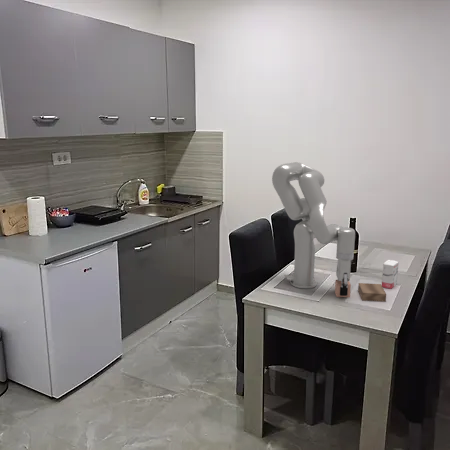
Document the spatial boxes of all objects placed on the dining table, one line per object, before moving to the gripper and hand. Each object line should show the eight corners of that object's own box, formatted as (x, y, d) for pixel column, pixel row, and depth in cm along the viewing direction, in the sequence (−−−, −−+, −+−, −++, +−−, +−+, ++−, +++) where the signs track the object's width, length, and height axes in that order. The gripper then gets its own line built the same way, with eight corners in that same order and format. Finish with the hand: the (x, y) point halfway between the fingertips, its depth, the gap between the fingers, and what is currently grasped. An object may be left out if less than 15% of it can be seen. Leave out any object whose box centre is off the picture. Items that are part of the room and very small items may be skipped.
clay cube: (336, 296, 201) (337, 284, 199) (334, 291, 206) (335, 279, 205) (349, 297, 200) (350, 285, 199) (347, 292, 206) (348, 280, 204)
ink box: (391, 289, 209) (393, 265, 206) (380, 287, 212) (382, 263, 209) (397, 284, 216) (399, 261, 213) (386, 281, 219) (389, 259, 216)
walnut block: (362, 301, 197) (362, 292, 196) (358, 291, 208) (358, 283, 207) (385, 302, 195) (386, 294, 194) (380, 292, 207) (380, 284, 206)
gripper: (334, 249, 207) (331, 285, 212) (338, 260, 191) (336, 299, 195) (350, 249, 207) (348, 286, 211) (356, 261, 190) (353, 300, 194)
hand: (342, 292), depth 203 cm, fingers closed on clay cube, 6 cm apart
